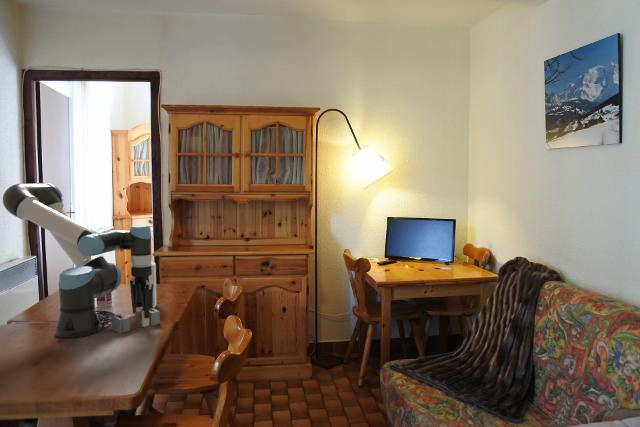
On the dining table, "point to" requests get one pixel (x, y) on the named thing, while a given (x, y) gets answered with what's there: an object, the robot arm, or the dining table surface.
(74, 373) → the dining table surface
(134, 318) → the slat
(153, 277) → the milk
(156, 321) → the endcap far
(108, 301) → the pill bottle
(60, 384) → the dining table surface
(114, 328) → the grey u-shaped bracket
